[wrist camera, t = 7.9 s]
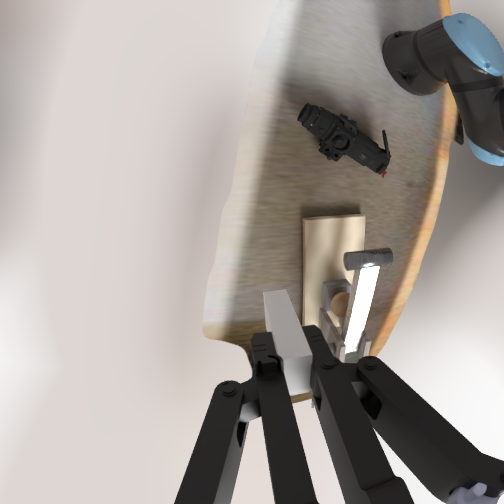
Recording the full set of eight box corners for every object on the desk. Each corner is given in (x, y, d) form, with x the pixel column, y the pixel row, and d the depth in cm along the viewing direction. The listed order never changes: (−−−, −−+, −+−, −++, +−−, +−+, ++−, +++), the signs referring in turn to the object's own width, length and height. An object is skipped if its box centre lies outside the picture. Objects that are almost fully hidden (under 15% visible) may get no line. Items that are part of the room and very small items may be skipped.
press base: (360, 213, 50) (402, 236, 36) (352, 318, 59) (380, 359, 45) (302, 217, 50) (330, 243, 36) (302, 326, 58) (321, 373, 44)
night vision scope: (291, 118, 46) (320, 78, 38) (367, 165, 50) (399, 134, 42) (287, 140, 41) (320, 95, 33) (371, 191, 46) (408, 158, 38)
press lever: (386, 244, 37) (394, 253, 35) (362, 339, 48) (366, 349, 46) (344, 248, 37) (351, 258, 35) (328, 346, 48) (332, 356, 45)
